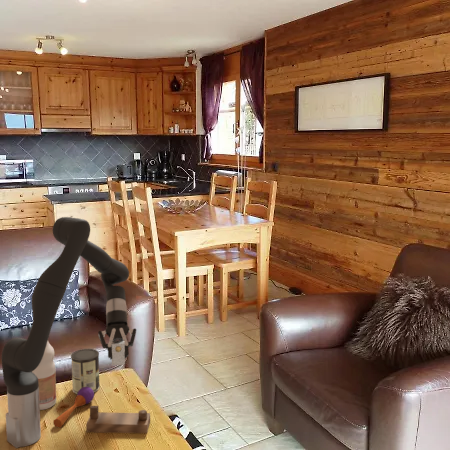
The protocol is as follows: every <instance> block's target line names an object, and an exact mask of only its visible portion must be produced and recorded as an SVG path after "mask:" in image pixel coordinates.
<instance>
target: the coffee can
mask: <svg viewBox="0 0 450 450" xmlns="http://www.w3.org/2000/svg"><path fill="white" fill-rule="evenodd" d="M99 357H100V352H99V351H98V350H97V349H93V348H83V349H82V348H81V349H78V350H75V351H74V352H72V353H71V354H70V359H71V382H72V392H73V393H74V394H76V395H77V394H78V391H79V390H80V389H81V388H83V387H90V388H91V389H92V390H93V392H94V393H95V392H97V391H99V389H100V360H99V359H100V358H99Z"/></svg>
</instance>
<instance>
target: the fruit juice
mask: <svg viewBox="0 0 450 450" xmlns="http://www.w3.org/2000/svg"><path fill="white" fill-rule="evenodd" d="M54 358H55V350H54V347H53V346H52V345H51V344H50V342H49V340H48V341H47V345H46V348H45V352H44V355H43V358H42V360H41V362H40V364H39V366H38V367H37V368H36V369H35V370H34V371H32V372H33V373H34V374H35V375H36V376H37V378H38V382H39V405H40V411H41V410H47V409H50V408H51V407H53V406H55V404H56V403H57V381H56V379H57V378H56V377H57V376H56V364H55V361H54Z"/></svg>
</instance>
